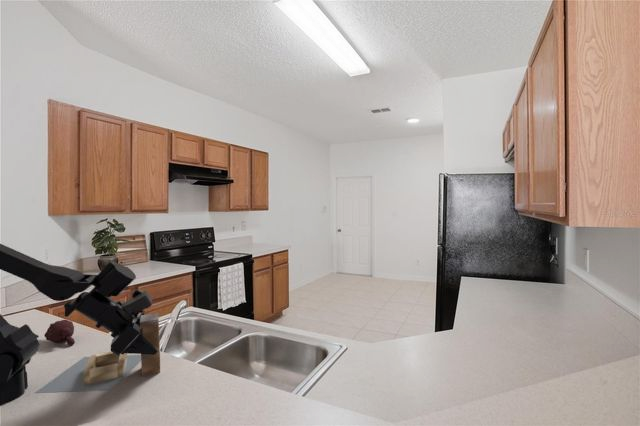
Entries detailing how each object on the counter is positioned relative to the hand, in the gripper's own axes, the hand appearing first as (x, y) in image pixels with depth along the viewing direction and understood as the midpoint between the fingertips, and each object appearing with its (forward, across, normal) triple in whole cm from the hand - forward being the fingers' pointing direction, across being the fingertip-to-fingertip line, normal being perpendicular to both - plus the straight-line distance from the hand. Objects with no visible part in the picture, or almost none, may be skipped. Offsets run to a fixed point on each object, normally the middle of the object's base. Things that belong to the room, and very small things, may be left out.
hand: (156, 344), depth 80 cm
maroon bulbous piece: (-14, +34, +25) cm, 45 cm away
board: (-5, +6, +15) cm, 16 cm away
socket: (-4, +4, +12) cm, 14 cm away
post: (+4, 0, +6) cm, 7 cm away
